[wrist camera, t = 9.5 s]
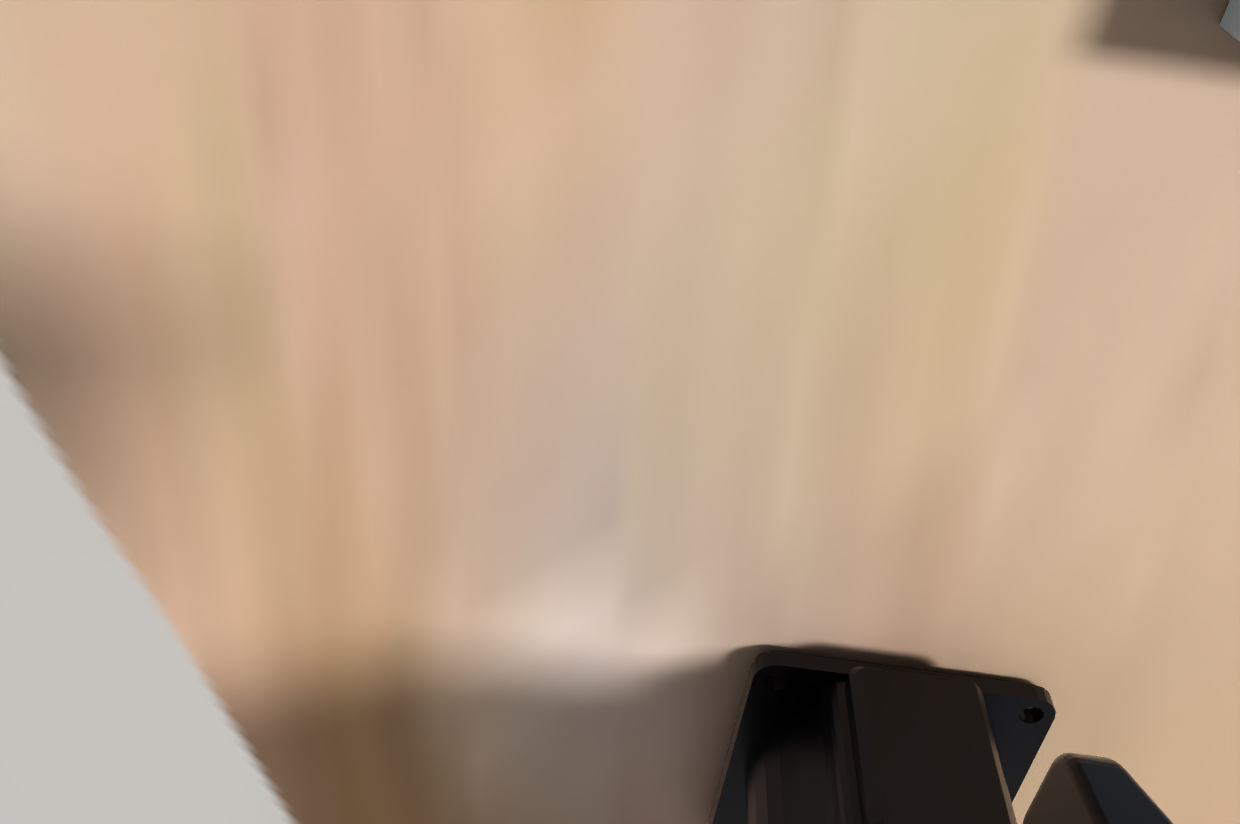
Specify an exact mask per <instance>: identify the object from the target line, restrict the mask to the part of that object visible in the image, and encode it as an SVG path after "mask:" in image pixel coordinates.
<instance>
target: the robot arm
mask: <svg viewBox="0 0 1240 824" xmlns="http://www.w3.org/2000/svg"><path fill="white" fill-rule="evenodd" d="M772 673H780V674H781V675H778V676H772V675H770V674H772ZM1029 707H1033V708H1030V709H1026V708H1029ZM1055 713H1056V711H1055V708H1054V705H1053V702H1052V699H1051V696H1050V694H1049V692H1048V691H1047V690H1045V689H1044V688H1043V687H1039V686H1036V685H1030V684H1022V683H1015V682H1007V681H1000V680H992V679H985V678H977V677H970V676H962V675H955V674H947V673H940V672H932V671H925V670H917V669H910V668H902V667H895V666H887V665H880V664H872V663H865V662H857V661H850V660H842V659H835V658H827V657H820V656H812V655H805V654H797V653H790V652H782V651H770V652H766V653H763V654H761V655H760V656H758V657H757V658H756V659H755V660H754V662H753V664H752V667H751V670H750V674H749V677H748V681H747V685H746V688H745V692H744V696H743V699H742V703H741V707H740V710H739V714H738V717H737V721H736V725H735V728H734V732H733V736H732V739H731V743H730V746H729V750H728V754H727V757H726V761H725V765H724V768H723V772H722V776H721V779H720V783H719V786H718V790H717V794H716V797H715V801H714V805H713V808H712V812H711V815H710V819H709V824H1017V822H1016V818H1015V814H1014V810H1013V806H1012V801H1013V799H1014V798H1015V796H1016V794H1017V792H1018V790H1019V788H1020V786H1021V784H1022V782H1023V780H1024V778H1025V776H1026V774H1027V772H1028V770H1029V768H1030V766H1031V764H1032V762H1033V760H1034V758H1035V756H1036V754H1037V752H1038V750H1039V748H1040V746H1041V744H1042V742H1043V740H1044V738H1045V736H1046V734H1047V732H1048V730H1049V728H1050V726H1051V724H1052V722H1053V720H1054V718H1055ZM1023 824H1173V823H1172V822H1171V820H1170V819H1169V818H1168V817H1167V816H1166V815H1165V814H1164V813H1163V811H1162V810H1161V809H1160V808H1159V807H1158V806H1157V805H1156V804H1155V802H1154V801H1153V800H1152V799H1151V798H1150V797H1149V796H1148V795H1147V793H1146V792H1145V791H1144V790H1143V789H1142V788H1141V787H1140V786H1139V784H1138V783H1137V782H1136V781H1135V780H1134V779H1133V778H1132V777H1131V775H1130V774H1129V773H1128V772H1127V771H1126V770H1125V769H1124V768H1123V767H1122V766H1121V765H1120V764H1118V763H1117V762H1115V761H1114V760H1111V759H1108V758H1104V757H1097V756H1089V755H1081V754H1074V753H1064V754H1062V755H1060V756H1059V757H1057V758H1056V759H1055V760H1054V762H1053V763H1052V765H1051V767H1050V769H1049V771H1048V772H1047V774H1046V776H1045V778H1044V780H1043V782H1042V784H1041V786H1040V788H1039V790H1038V792H1037V794H1036V796H1035V797H1034V799H1033V801H1032V803H1031V805H1030V807H1029V809H1028V811H1027V813H1026V815H1025V818H1024V821H1023Z"/></svg>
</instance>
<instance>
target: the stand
mask: <svg viewBox="0 0 1240 824" xmlns="http://www.w3.org/2000/svg"><path fill="white" fill-rule="evenodd" d="M1219 26H1220V27H1222V28H1223V29H1224V30H1225V31H1227V32H1228V33H1229V34H1230V35H1231V36H1233V37H1234V38H1235V39H1236V40H1237V41H1239V42H1240V0H1230V1H1229V4H1228V6H1227V9H1226V11H1225V13H1224V16H1223V18H1222V21H1221V23H1220V25H1219Z"/></svg>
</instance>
